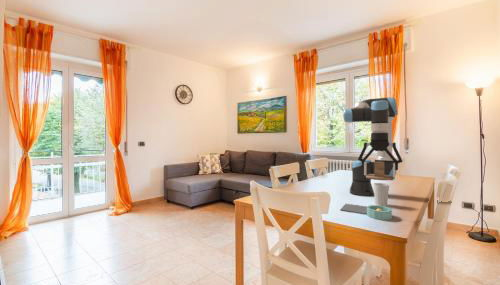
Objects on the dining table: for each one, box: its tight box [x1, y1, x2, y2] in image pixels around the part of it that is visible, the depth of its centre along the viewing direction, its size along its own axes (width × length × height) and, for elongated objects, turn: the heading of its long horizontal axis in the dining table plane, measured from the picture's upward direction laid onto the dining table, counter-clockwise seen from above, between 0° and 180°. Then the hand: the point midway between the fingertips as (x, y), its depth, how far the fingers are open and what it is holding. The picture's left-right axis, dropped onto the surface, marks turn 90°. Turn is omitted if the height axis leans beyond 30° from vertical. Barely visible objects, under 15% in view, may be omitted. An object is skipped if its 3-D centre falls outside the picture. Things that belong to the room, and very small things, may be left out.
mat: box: [340, 203, 368, 216], centre depth 132 cm, size 13×13×1 cm
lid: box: [366, 160, 394, 181], centre depth 120 cm, size 12×12×8 cm
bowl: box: [366, 204, 393, 221], centre depth 121 cm, size 11×11×4 cm
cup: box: [373, 182, 390, 207], centre depth 139 cm, size 8×8×12 cm
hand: (379, 175), depth 120 cm, fingers closed on lid, 12 cm apart
